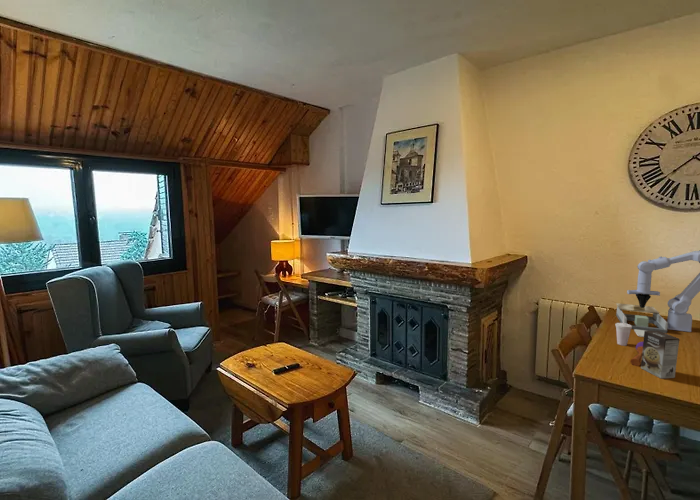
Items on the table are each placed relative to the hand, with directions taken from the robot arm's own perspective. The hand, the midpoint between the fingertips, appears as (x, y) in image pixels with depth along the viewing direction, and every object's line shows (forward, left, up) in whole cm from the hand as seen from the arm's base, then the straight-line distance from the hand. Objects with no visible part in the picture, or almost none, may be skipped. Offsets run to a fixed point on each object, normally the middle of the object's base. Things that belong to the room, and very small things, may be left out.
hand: (642, 307), depth 199 cm
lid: (0, -12, -4) cm, 13 cm away
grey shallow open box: (0, -2, -10) cm, 10 cm away
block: (0, +2, -10) cm, 10 cm away
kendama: (+10, +55, -10) cm, 57 cm away
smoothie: (+14, +39, -10) cm, 42 cm away
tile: (0, +18, -10) cm, 20 cm away
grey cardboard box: (+7, +69, -10) cm, 70 cm away
